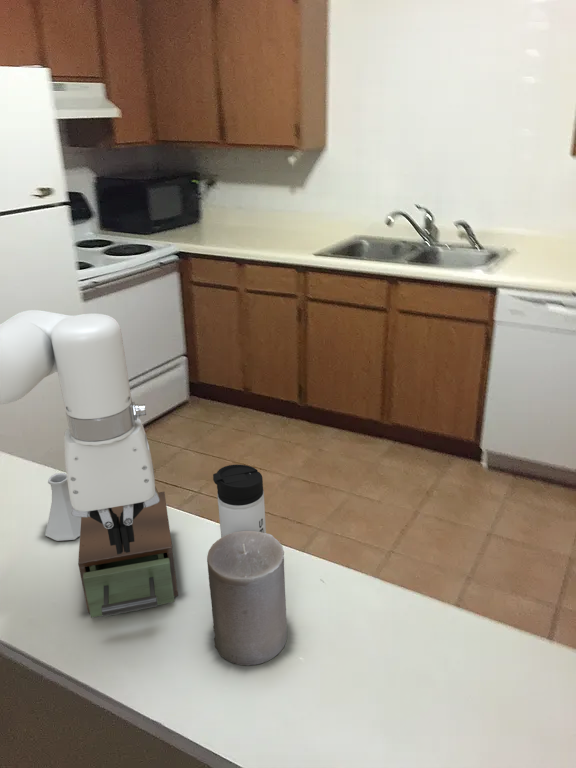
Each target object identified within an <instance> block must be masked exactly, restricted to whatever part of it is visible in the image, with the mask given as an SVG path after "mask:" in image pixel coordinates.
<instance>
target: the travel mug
mask: <svg viewBox="0 0 576 768" xmlns="http://www.w3.org/2000/svg"><path fill="white" fill-rule="evenodd" d="M212 476H213V477H212V481H213V482H214V484H215V485H216V489H217V493H216V494H217V495H216V497H217V506H218V518H219V519H218V520H219V529H220V538H222V537H224V536H226V535H228V534H231V533H234V532H240V531H256V532H262V533H265V534H266V533H267V524H266V523H267V522H266V508H265V491H264V480H263V475H262V473H261V472H260V471H258V469H257V468H255V467H253V466H251V465H246V464H228V465H226V466H222V467H221V468H220V469H218V470H217V471H216V473H212Z"/></svg>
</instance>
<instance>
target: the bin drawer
mask: <svg viewBox="0 0 576 768" xmlns="http://www.w3.org/2000/svg"><path fill="white" fill-rule="evenodd" d="M89 568H90V572H86V573H83V580H84V585H85V590H86V595H87V600H88V605H89V610H90V612H89V616H90V618H98V617H109V616H114V615H118V614H124V613H128V612H129V613H130V612H134V611H140V610H145V609H150V608H155V607H159V606H160V605H166V604H170V603H171V604H172V603H175V600H176V599H175V596H174V592H173V585H172V577H171V569H170V562H169V558H165V559H164V553H161V554H156V555H150V556H144V557H139V558H133V559H127V560H122V561H116V562H110V563H105V564H99V565H93V566H89Z"/></svg>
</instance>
